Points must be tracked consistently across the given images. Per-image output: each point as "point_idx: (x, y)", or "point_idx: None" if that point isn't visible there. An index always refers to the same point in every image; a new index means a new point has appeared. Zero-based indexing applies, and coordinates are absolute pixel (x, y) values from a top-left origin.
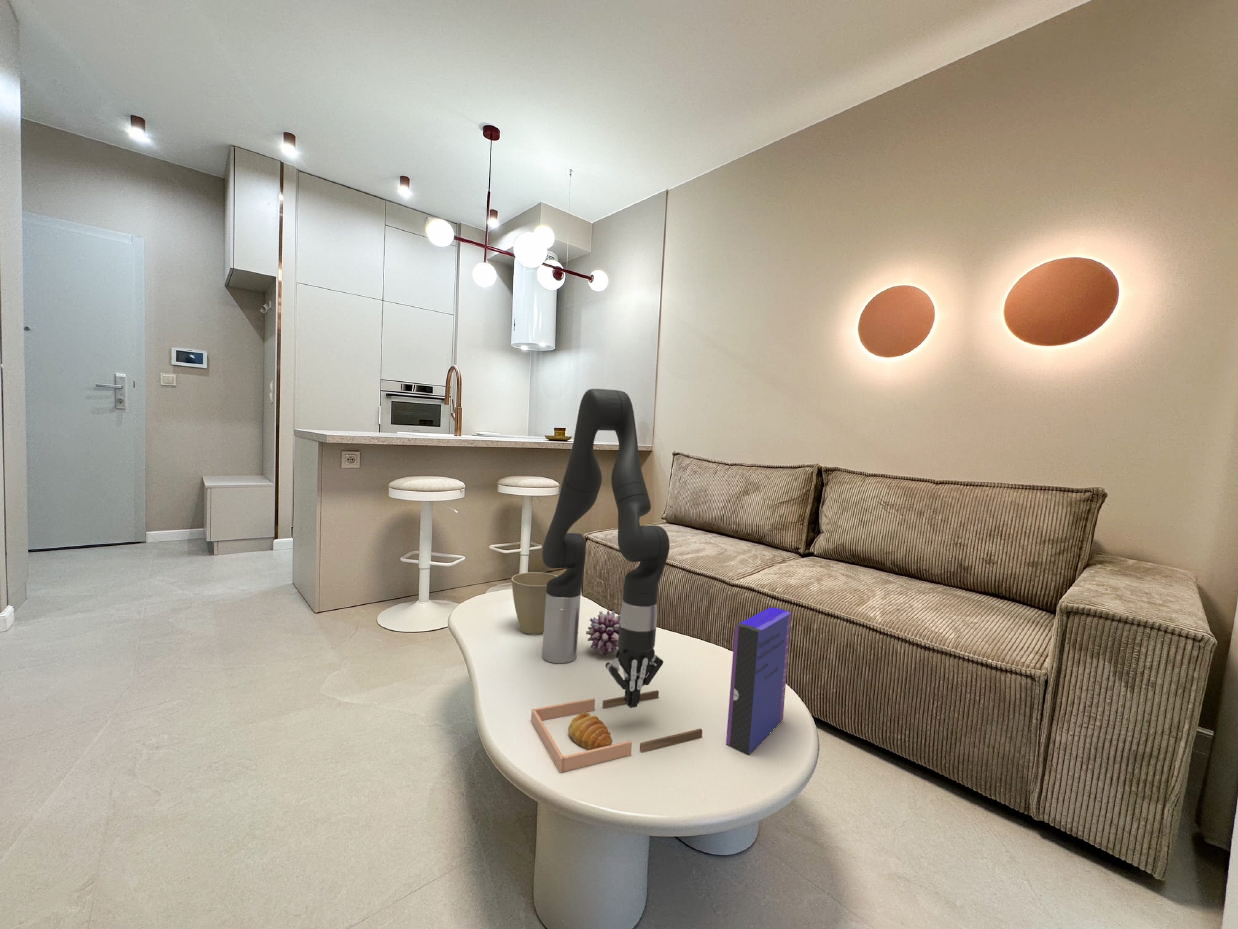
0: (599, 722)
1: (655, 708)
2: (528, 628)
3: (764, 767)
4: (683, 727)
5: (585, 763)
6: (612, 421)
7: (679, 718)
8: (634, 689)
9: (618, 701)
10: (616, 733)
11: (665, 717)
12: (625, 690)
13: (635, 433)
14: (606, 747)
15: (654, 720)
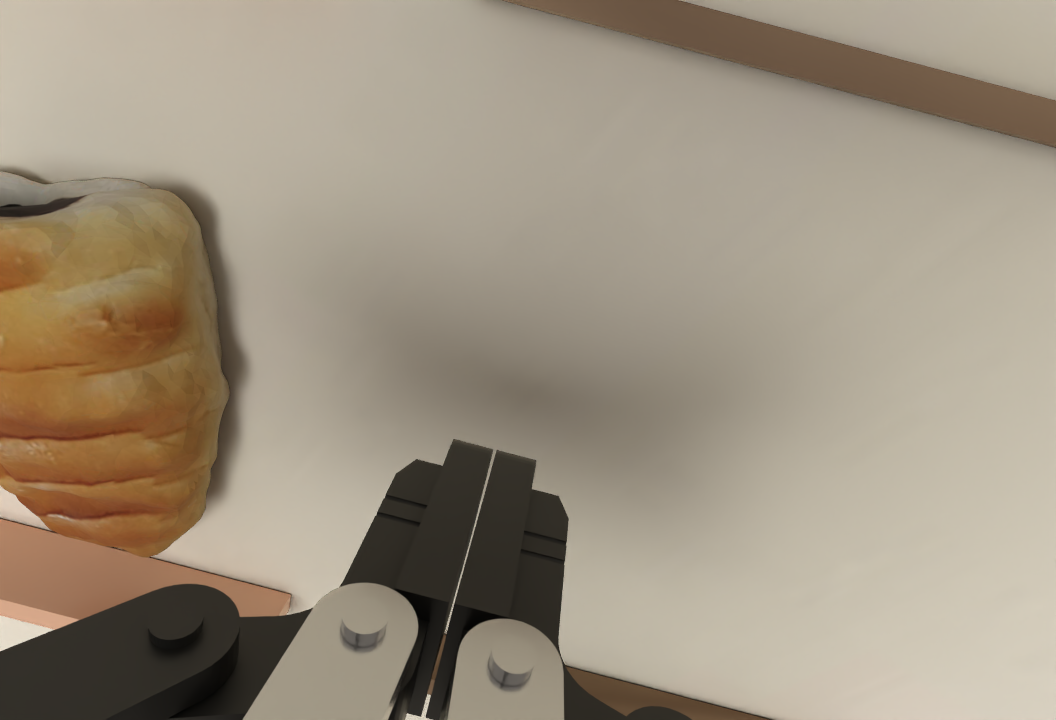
0: (95, 423)
1: (950, 328)
2: None
3: None
4: (846, 631)
5: None
6: None
7: (950, 552)
8: (434, 691)
9: (669, 43)
10: (339, 402)
11: (870, 479)
12: (347, 577)
13: None
14: (56, 622)
15: (748, 455)
